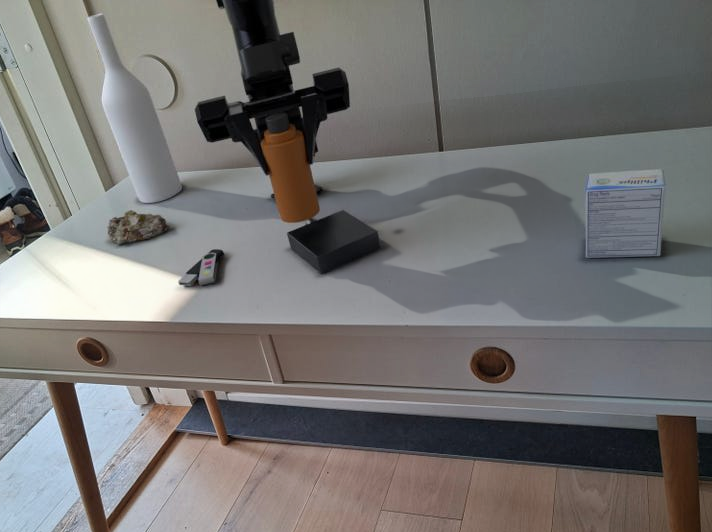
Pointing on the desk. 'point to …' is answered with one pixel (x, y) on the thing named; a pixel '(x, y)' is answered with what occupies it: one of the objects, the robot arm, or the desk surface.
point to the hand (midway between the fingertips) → (288, 168)
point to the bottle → (134, 123)
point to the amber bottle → (289, 170)
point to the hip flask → (333, 241)
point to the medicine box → (624, 213)
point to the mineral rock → (135, 227)
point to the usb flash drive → (203, 269)
